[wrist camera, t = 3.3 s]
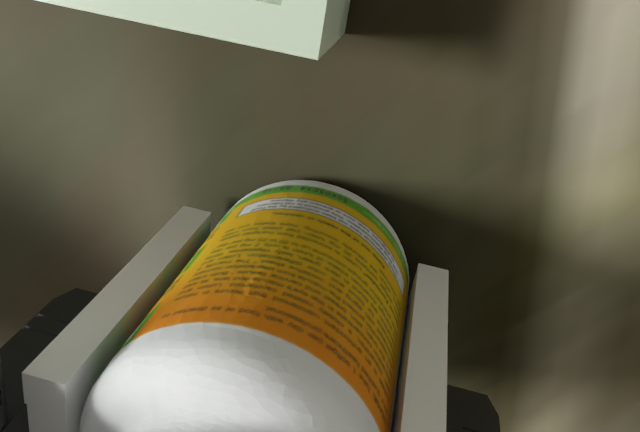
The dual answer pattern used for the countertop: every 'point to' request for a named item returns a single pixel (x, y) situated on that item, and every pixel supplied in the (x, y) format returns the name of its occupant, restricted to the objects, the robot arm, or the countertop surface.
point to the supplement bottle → (269, 325)
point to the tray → (237, 20)
